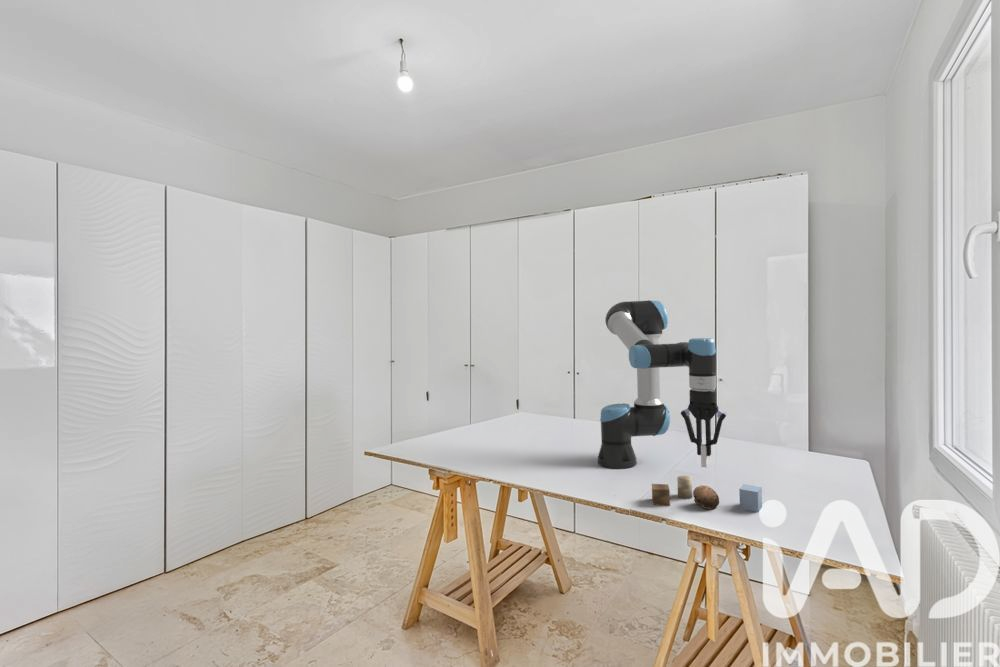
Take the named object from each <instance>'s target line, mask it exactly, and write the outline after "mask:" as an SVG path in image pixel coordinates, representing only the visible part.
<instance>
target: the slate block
mask: <svg viewBox="0 0 1000 667" xmlns="http://www.w3.org/2000/svg"><path fill="white" fill-rule="evenodd" d="M738 491H739V509H741V510H745V511H751V512H754V513H759V512H760V510H762V509H763V489H762V486H757V485H752V484H751V485H750V484H744V483H743V484H742V485H741V486H740V488H739V490H738Z"/></svg>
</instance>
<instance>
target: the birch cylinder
mask: <svg viewBox="0 0 1000 667" xmlns="http://www.w3.org/2000/svg"><path fill="white" fill-rule="evenodd" d="M676 479H677V480H676V481H677V496H678V498H680V499H684V500H691V499H693V498H694V496H693V478H692V477H691V476H688V475H679V476H677V478H676Z"/></svg>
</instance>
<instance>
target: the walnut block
mask: <svg viewBox="0 0 1000 667" xmlns="http://www.w3.org/2000/svg"><path fill="white" fill-rule="evenodd" d="M670 492H671V491H670V487H669V484H665V483H663V484H662V483H651V500H652V505H653V506H664V507H665V506H671V496H670V495H671V494H670Z"/></svg>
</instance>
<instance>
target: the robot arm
mask: <svg viewBox="0 0 1000 667" xmlns="http://www.w3.org/2000/svg"><path fill="white" fill-rule="evenodd" d="M604 319H605V325H606V327H607V328H606V329H608V331H609V332H611V333H612V334H613V335H616V336H617V337H618V339H619V340H620V341H621V343H623V345H624V347H625V348H627V350H628V361H629V364H630V366H631V367H632V368H634V369H636V379H637V380H636V382H637V383H636V386H637V387H636V388H637V398H636V399H635V400H634V401H633V406H630V404H629V403H624V402H623V403H613V404H609V405H605V406H603V407H602V408H601V410H600V418H599V420H600V434H601V438H600V439H601V445H600V448H599V452H598V456H597V464H598V465H599V466H600V467H601V466H602V467H605V468H607V469H608V468H609V469H610V468H611V469H629V468H633V467H635V466H637V464H638V463H637V456H636V454H635V451H634V448H633V445H632V437H649V436H650V437H651V436H653V437H655V436H662V435H665V434H666V433H667V432H668V430H669V427H670V424H671V414H670V409H669V407H668V406H667V405H665V402H664V401H663V400H662V398H661V391H660V390H661V388H660V387H661V386H660V368H677V367H678V368H679V367H686V368H687V367H688V380H689V382H688V384H689V386H688V387H689V388H690V390H689V404H688V405H687V408H686V409H683V410H682V411H681V412H680V415H681V417H682V418H683V419H684V422H685V426H686V430H687V433H688V437H689V441H690V442H691V443H694V444H695V445H696V453H697V454H696V455H698V456H700V463H701V464H700V466H701V468H708V465H709V464H708V463H709V462H708V457H711V455H712V446H713V445H717V443H718V440H719V436H720V433H721V429H722V428H721V427H722V424H723V421H724V419H725V418H726V416H727V413H726V412H725V411H724V412H723V411H722V410H720V408H719V406H718V403H717V391H716V390H715V389H716V388H717V375H716V374H717V372H716V371H717V369H716V367H717V366H716V364H717V358H716V356H717V354H716V352H717V351H716V342H715V340H714V339H713V338H710V337H696V338H695V337H694V338H690V339H689V340H688V342H687V341H684V342H682V341H681V342H677V343H660V342H659V340H660V338H661V337H662V335H663V330H665V329H666V328H668V324H669V317H668V313H667V309H666V307H665V305H664V304H663V303H662V302H661V301H659V300H633V301H621V302H620V301H619V302H618V303H616V304H614V305H612V306H611V307H610V309H609V310H608V311H607V313H606V316H605V318H604ZM716 414H717V415H716ZM690 415H692V416H693V417H694V418H695V424H696V425H695V427H696V430H695V431H696V435H695V431H694V427H693V423H692V420H691V418H690ZM715 415H716V417H717V418H718V419H717V421H716V426H715V428H714V434H713V438H712V427H711V426H712V425H711V424H712V423H711V421H712V419H713V417H715ZM702 420H703V421H704V424H705V428H704V429H705V443H703V435H702V434H703V431H702V430H703V428H702V427H703V425H702V423H703V422H702Z"/></svg>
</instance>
